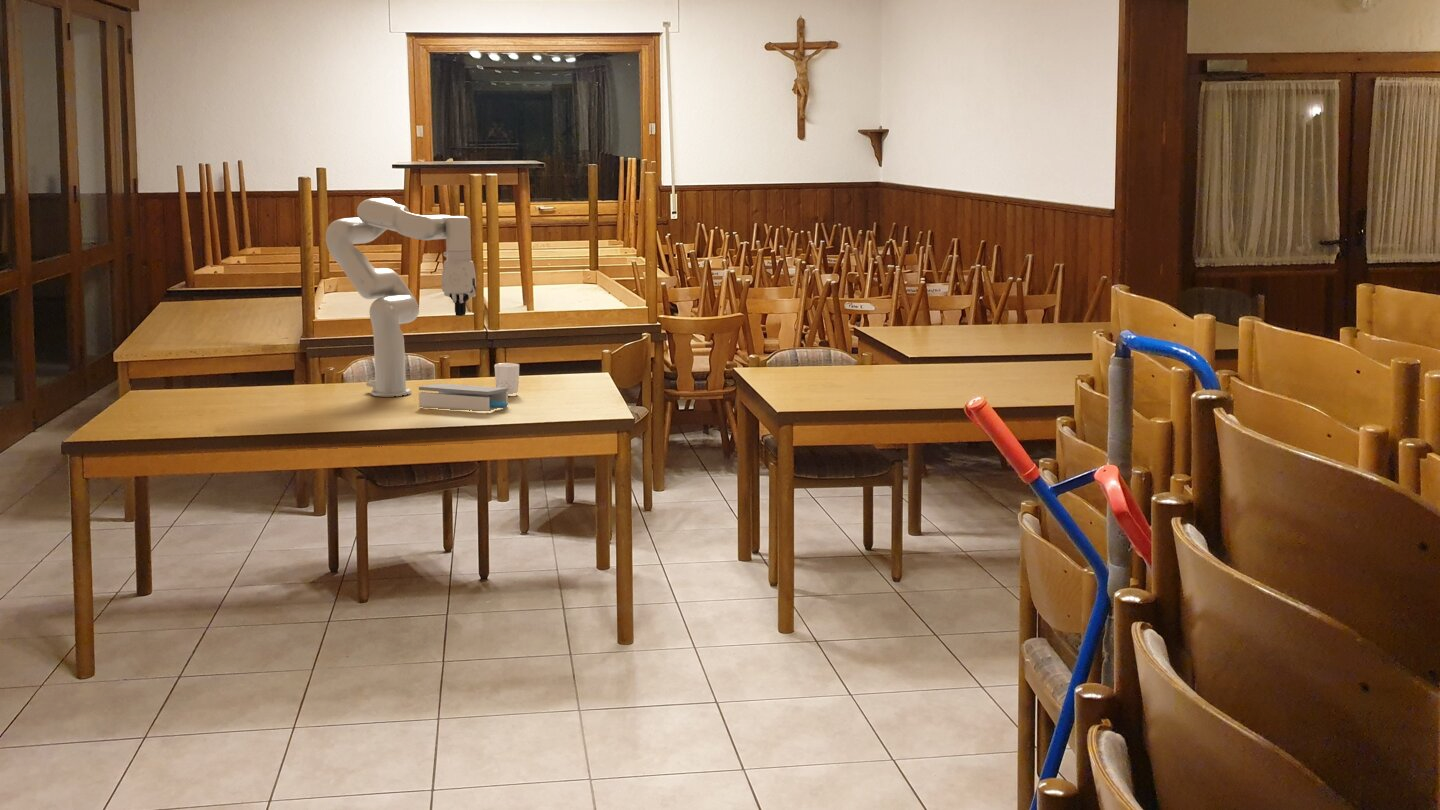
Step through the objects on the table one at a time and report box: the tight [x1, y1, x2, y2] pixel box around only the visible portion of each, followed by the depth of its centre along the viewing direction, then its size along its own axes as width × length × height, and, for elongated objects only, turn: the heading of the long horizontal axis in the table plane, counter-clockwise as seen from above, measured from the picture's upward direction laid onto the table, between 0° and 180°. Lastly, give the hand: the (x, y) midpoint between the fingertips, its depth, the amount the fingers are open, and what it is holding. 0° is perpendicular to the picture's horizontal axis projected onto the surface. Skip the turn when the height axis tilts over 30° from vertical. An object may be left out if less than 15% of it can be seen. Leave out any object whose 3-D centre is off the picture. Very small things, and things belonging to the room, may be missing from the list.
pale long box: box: [418, 391, 509, 411], centre depth 436 cm, size 24×12×5 cm, turn 69°
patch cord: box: [489, 400, 507, 409], centre depth 436 cm, size 29×2×2 cm, turn 69°
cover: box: [418, 383, 508, 395], centre depth 436 cm, size 24×12×1 cm, turn 69°
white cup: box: [493, 362, 520, 394], centre depth 458 cm, size 8×8×10 cm
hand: (460, 315), depth 444 cm, fingers closed
